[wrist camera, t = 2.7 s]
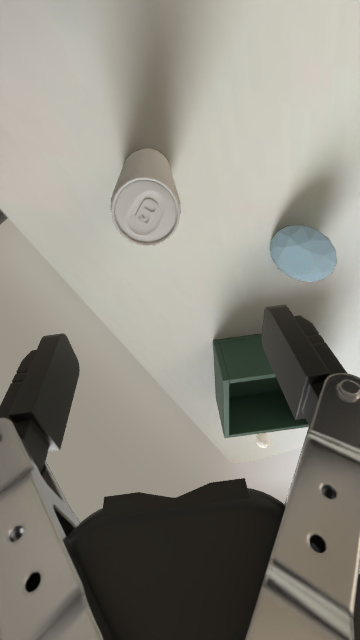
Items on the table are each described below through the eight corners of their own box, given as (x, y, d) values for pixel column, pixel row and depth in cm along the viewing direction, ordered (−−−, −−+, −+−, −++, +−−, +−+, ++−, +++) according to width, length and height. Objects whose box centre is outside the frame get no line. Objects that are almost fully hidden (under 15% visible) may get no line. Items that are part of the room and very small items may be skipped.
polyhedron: (269, 429, 61) (274, 443, 58) (264, 437, 63) (269, 450, 60) (256, 429, 60) (261, 443, 58) (252, 437, 62) (256, 450, 60)
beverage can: (114, 182, 29) (97, 225, 19) (137, 135, 26) (130, 157, 17) (155, 209, 31) (158, 259, 21) (180, 166, 28) (196, 202, 19)
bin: (215, 398, 52) (224, 438, 46) (212, 340, 43) (223, 380, 37) (294, 387, 52) (313, 426, 46) (308, 327, 43) (334, 365, 37)
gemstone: (357, 209, 29) (338, 236, 27) (345, 268, 35) (328, 294, 32) (285, 202, 33) (264, 225, 31) (284, 255, 39) (266, 278, 37)
